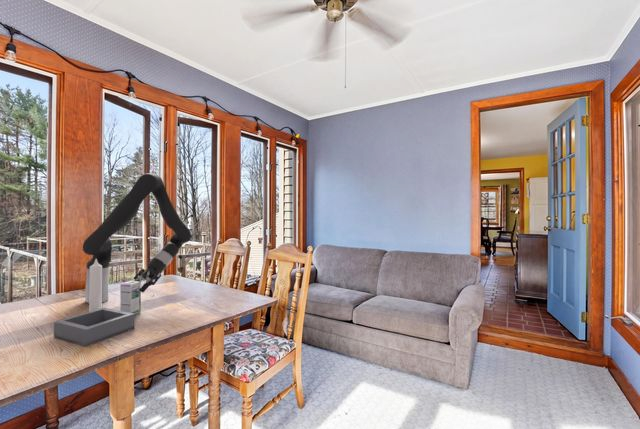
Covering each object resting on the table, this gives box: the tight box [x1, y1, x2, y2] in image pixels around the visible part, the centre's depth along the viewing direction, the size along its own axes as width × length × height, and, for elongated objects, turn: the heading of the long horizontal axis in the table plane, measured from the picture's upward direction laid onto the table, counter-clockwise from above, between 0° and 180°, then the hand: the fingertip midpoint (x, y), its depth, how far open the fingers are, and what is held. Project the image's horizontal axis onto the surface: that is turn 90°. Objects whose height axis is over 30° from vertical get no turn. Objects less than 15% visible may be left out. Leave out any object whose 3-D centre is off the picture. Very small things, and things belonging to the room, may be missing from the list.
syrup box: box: [119, 280, 142, 315], centre depth 138 cm, size 6×6×14 cm
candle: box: [88, 259, 103, 312], centre depth 136 cm, size 7×7×25 cm
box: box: [53, 307, 136, 348], centre depth 117 cm, size 18×18×6 cm
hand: (136, 290), depth 140 cm, fingers open, 8 cm apart
